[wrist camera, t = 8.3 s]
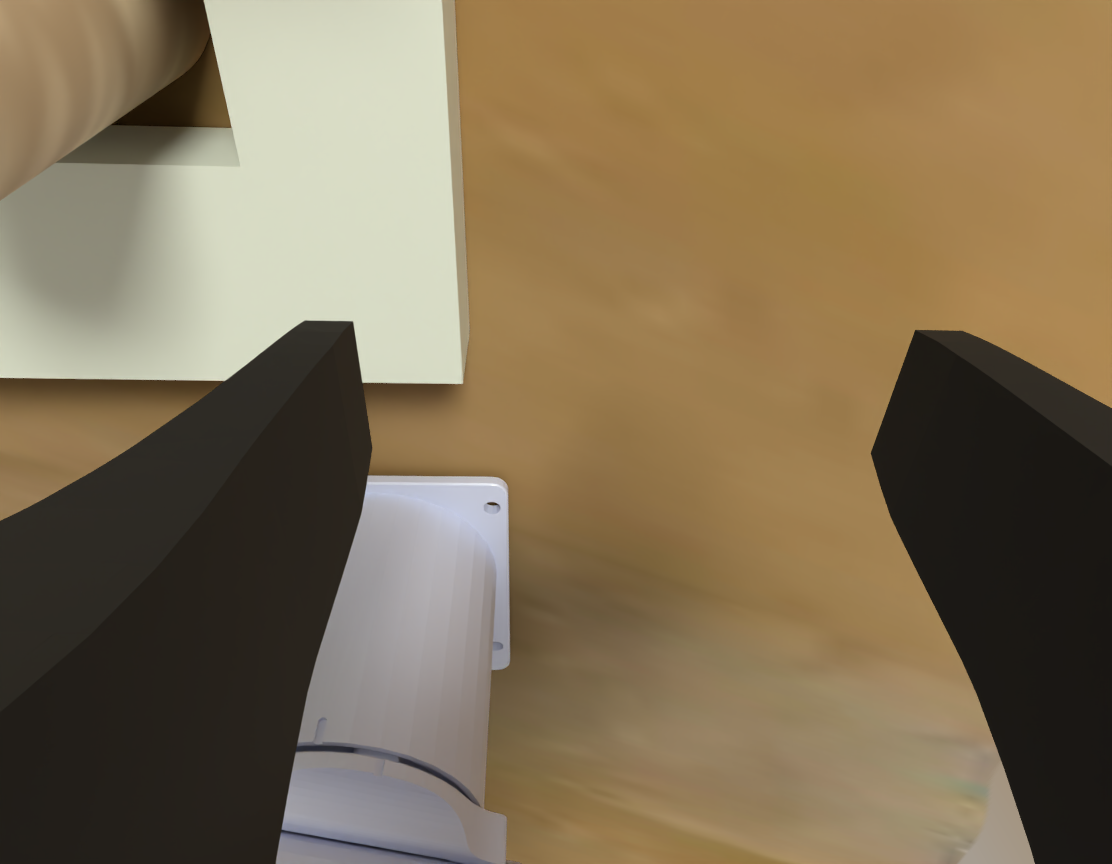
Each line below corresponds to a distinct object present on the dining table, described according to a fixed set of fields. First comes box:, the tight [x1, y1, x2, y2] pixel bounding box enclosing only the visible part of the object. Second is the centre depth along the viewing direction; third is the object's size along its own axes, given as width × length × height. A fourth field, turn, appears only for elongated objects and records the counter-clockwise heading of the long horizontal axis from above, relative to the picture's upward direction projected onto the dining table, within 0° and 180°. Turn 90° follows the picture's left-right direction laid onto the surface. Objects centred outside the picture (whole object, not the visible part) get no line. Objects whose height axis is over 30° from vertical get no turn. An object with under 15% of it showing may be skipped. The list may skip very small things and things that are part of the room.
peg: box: [0, 0, 210, 201], centre depth 13 cm, size 4×4×8 cm
